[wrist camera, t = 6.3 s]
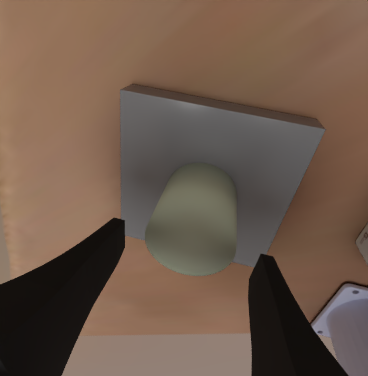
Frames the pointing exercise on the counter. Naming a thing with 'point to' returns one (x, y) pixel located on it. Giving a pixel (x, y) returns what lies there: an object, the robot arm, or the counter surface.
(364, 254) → the supplement box
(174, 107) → the slate base
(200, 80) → the counter surface
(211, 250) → the green cylinder
